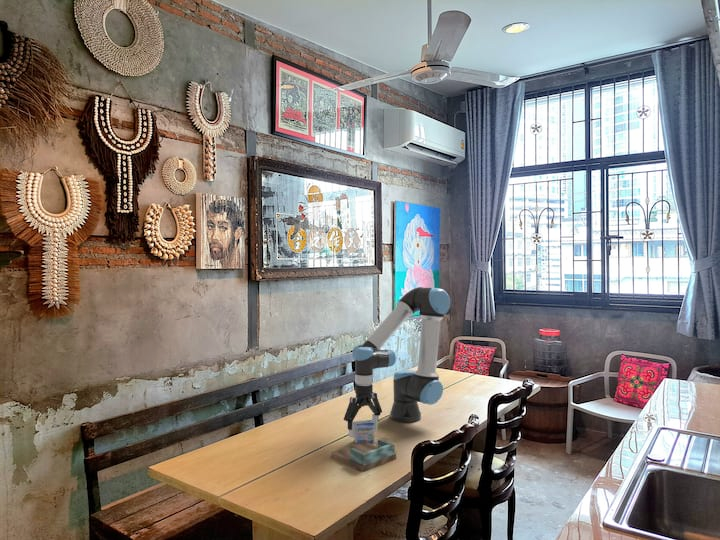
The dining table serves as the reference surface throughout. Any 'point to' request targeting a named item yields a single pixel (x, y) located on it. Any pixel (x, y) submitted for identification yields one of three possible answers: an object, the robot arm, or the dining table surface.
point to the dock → (366, 454)
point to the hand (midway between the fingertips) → (363, 433)
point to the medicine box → (364, 431)
